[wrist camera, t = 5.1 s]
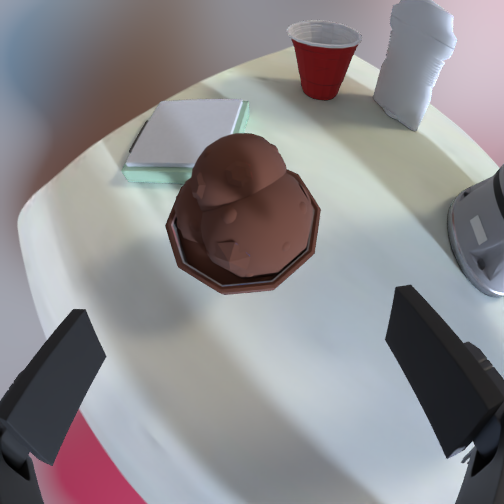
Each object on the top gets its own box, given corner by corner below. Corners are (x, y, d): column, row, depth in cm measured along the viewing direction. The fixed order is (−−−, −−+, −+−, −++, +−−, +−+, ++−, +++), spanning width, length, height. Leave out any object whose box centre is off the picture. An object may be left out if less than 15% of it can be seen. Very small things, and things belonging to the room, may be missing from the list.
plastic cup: (276, 79, 41) (275, 19, 30) (332, 73, 41) (338, 18, 30) (300, 114, 36) (305, 43, 25) (362, 107, 37) (377, 44, 26)
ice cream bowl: (177, 262, 29) (108, 172, 15) (257, 199, 31) (248, 86, 17) (242, 341, 25) (208, 311, 11) (327, 265, 27) (374, 169, 14)
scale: (249, 113, 37) (248, 96, 34) (229, 187, 32) (225, 170, 29) (159, 114, 39) (153, 99, 36) (123, 181, 34) (113, 167, 31)
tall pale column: (424, 129, 35) (469, 19, 15) (411, 136, 34) (458, 16, 14) (378, 92, 39) (404, -14, 19) (364, 97, 38) (388, -17, 18)
